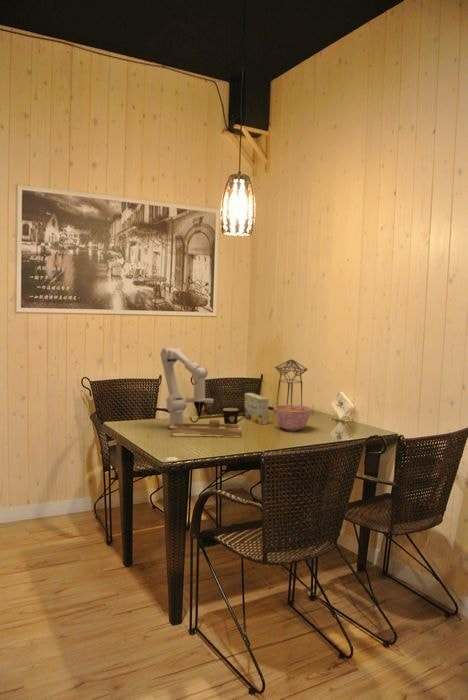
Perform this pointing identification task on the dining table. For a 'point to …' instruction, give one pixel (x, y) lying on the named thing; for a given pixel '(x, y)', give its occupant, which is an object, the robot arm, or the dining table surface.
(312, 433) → the dining table surface
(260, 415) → the snack box
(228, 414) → the coffee mug
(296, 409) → the bowl of food
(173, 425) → the robot arm
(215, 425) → the walnut block
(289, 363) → the geometric lantern
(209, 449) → the dining table surface
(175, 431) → the trap trough
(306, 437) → the dining table surface
